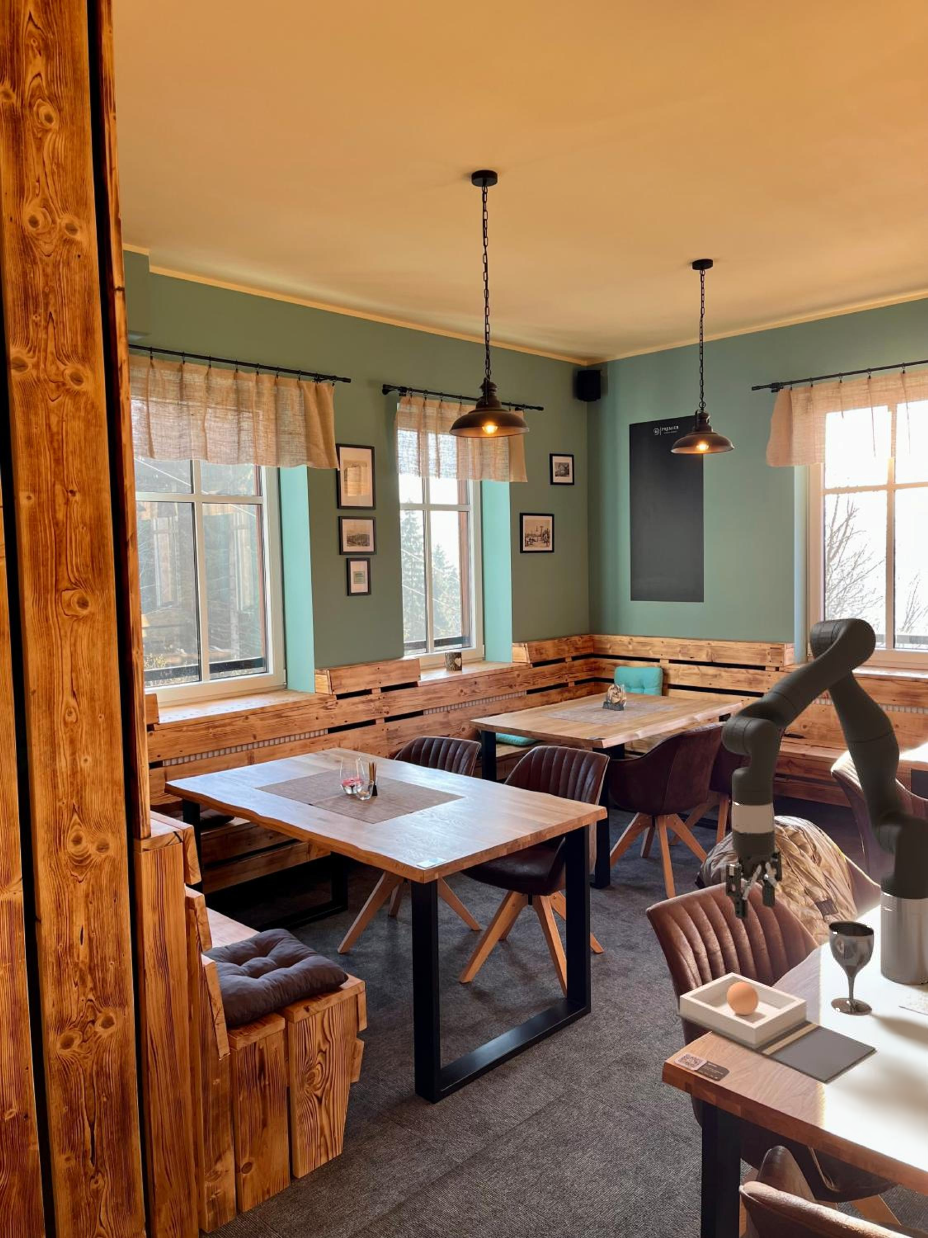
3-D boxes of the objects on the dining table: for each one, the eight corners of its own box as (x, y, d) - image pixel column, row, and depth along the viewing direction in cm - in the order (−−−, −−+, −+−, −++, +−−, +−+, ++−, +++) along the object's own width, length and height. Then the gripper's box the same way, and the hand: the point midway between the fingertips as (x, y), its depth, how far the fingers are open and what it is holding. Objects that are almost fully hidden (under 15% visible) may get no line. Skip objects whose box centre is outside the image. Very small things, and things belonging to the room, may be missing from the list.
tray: (732, 990, 179) (732, 972, 179) (806, 1020, 166) (806, 1001, 166) (680, 1015, 169) (679, 996, 169) (754, 1049, 156) (754, 1028, 156)
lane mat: (727, 990, 180) (727, 988, 180) (875, 1050, 156) (875, 1047, 156) (675, 1015, 170) (675, 1013, 170) (824, 1083, 146) (824, 1080, 146)
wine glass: (819, 1001, 174) (819, 924, 174) (851, 994, 177) (851, 918, 177) (850, 1020, 167) (850, 939, 166) (883, 1012, 170) (883, 932, 169)
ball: (739, 1003, 172) (738, 974, 171) (765, 1014, 167) (764, 984, 167) (720, 1012, 168) (720, 983, 168) (746, 1024, 164) (746, 993, 163)
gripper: (757, 814, 174) (760, 898, 175) (712, 829, 165) (714, 917, 166) (793, 821, 168) (795, 908, 169) (747, 837, 159) (750, 928, 160)
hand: (755, 912), depth 168 cm, fingers open, 8 cm apart
